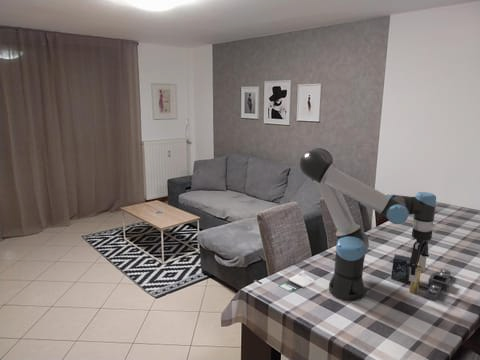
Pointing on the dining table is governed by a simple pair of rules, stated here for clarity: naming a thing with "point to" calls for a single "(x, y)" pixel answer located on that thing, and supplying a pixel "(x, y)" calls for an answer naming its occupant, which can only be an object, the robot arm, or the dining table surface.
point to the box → (401, 268)
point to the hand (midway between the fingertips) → (417, 275)
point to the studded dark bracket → (438, 284)
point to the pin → (414, 285)
